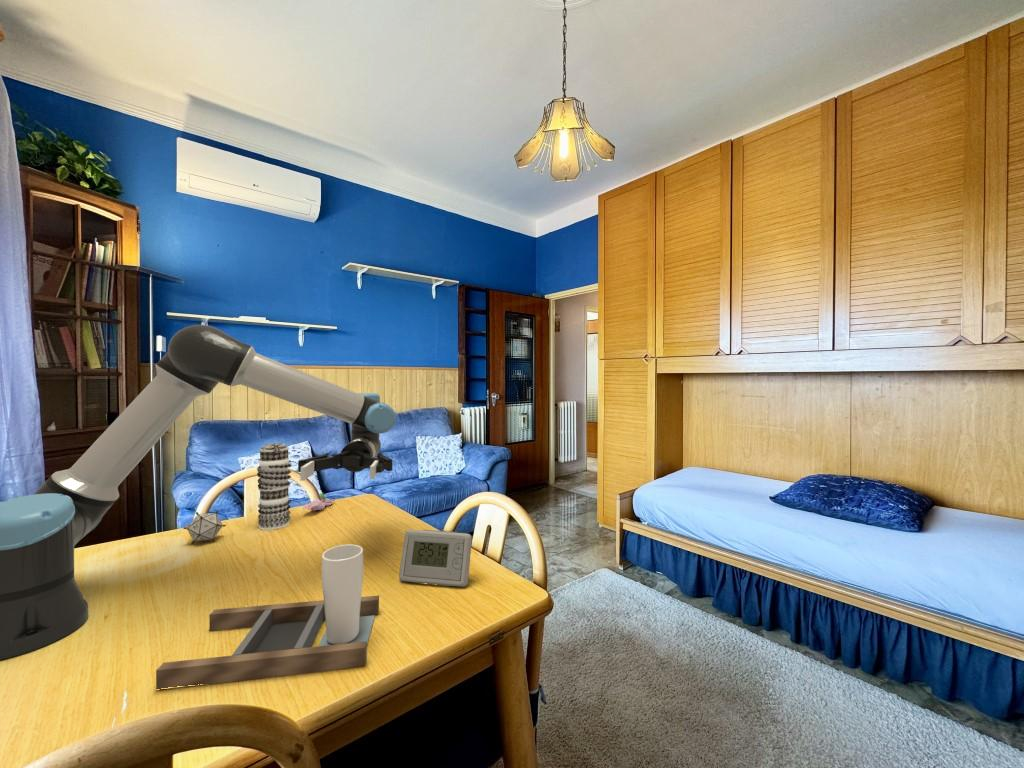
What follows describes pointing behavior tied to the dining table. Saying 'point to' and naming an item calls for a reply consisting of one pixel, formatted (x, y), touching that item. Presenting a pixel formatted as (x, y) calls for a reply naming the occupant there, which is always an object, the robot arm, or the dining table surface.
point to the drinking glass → (342, 592)
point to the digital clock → (436, 557)
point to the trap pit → (281, 634)
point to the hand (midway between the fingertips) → (337, 473)
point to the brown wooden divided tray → (272, 661)
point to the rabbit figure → (318, 503)
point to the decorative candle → (273, 486)
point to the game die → (204, 527)
